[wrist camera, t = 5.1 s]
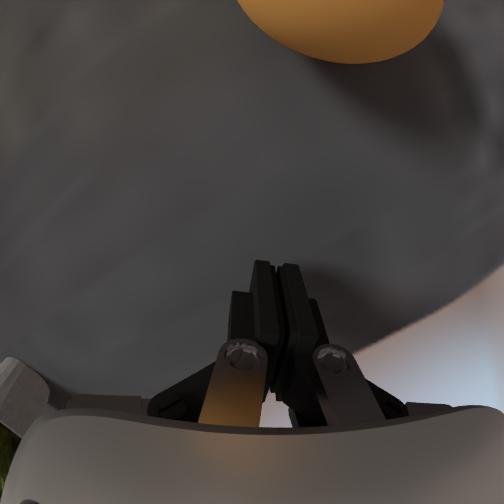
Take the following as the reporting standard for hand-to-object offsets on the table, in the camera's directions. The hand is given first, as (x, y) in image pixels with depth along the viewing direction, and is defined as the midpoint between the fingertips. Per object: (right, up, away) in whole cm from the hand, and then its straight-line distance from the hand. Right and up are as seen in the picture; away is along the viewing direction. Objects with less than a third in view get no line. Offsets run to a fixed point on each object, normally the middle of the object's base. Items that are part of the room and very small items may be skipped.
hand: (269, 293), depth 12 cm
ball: (+2, +9, -7) cm, 12 cm away
